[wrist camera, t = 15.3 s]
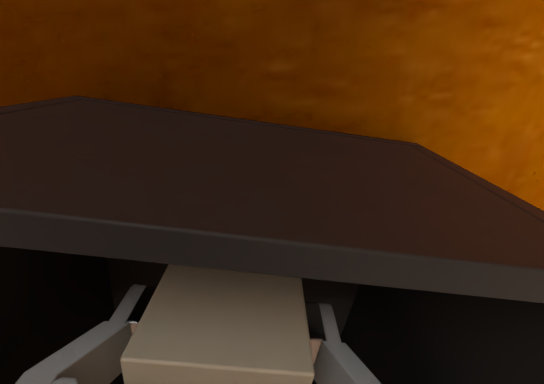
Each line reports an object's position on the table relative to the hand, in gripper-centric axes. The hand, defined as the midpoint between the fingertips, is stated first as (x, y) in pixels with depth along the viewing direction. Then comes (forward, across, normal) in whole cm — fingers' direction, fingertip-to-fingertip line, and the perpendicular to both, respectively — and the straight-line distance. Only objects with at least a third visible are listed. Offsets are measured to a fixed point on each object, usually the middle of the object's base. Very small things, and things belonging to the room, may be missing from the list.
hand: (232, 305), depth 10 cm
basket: (+3, 0, 0) cm, 3 cm away
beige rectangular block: (+2, 0, 0) cm, 2 cm away
